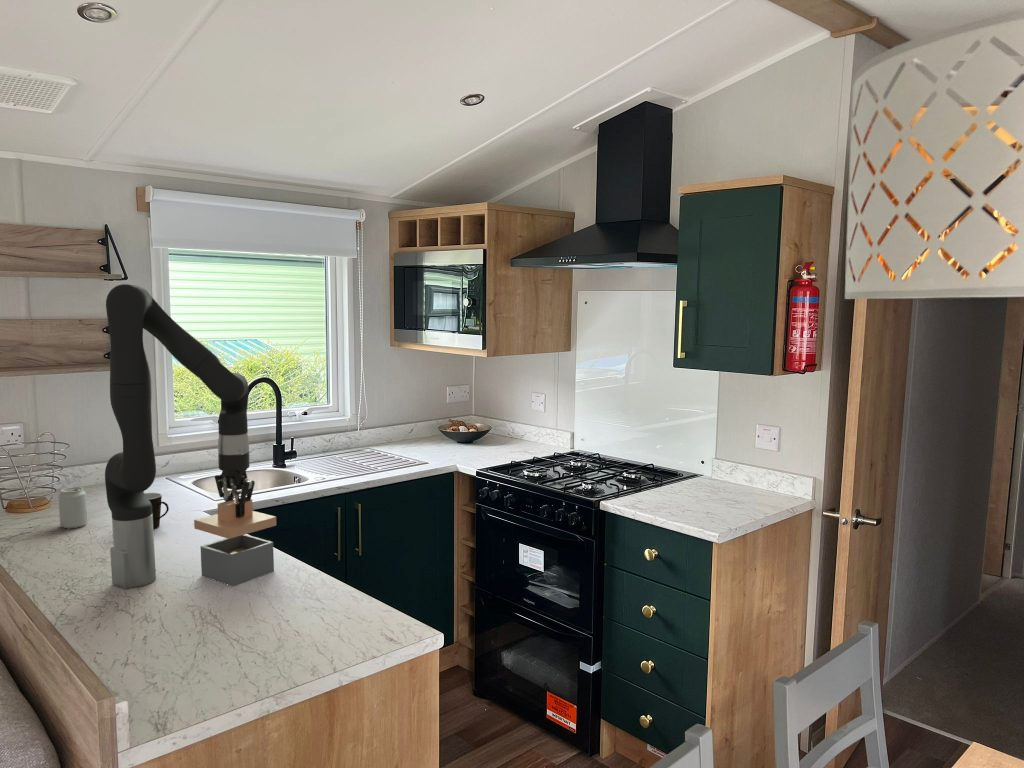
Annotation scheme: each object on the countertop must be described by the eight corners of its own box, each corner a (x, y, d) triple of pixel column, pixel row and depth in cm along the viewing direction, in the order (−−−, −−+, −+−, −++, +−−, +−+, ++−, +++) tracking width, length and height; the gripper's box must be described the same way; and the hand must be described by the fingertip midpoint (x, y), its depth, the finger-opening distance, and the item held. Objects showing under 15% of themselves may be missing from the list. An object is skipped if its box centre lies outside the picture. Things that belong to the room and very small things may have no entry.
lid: (229, 538, 189) (228, 512, 188) (194, 528, 197) (193, 502, 196) (276, 525, 201) (275, 500, 200) (241, 516, 209) (241, 491, 208)
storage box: (232, 586, 192) (231, 555, 191) (201, 575, 199) (200, 546, 198) (274, 571, 203) (273, 542, 202) (243, 561, 210) (242, 533, 209)
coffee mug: (128, 527, 239) (126, 496, 238) (156, 521, 245) (155, 491, 244) (143, 535, 231) (141, 503, 230) (172, 529, 237) (170, 498, 236)
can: (91, 525, 240) (89, 488, 239) (65, 531, 235) (62, 493, 234) (83, 520, 246) (80, 484, 244) (57, 526, 240) (54, 488, 239)
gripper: (204, 449, 197) (206, 514, 199) (238, 456, 190) (240, 523, 191) (229, 445, 204) (230, 508, 205) (263, 451, 196) (264, 517, 198)
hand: (235, 515), depth 198 cm, fingers closed on lid, 3 cm apart
